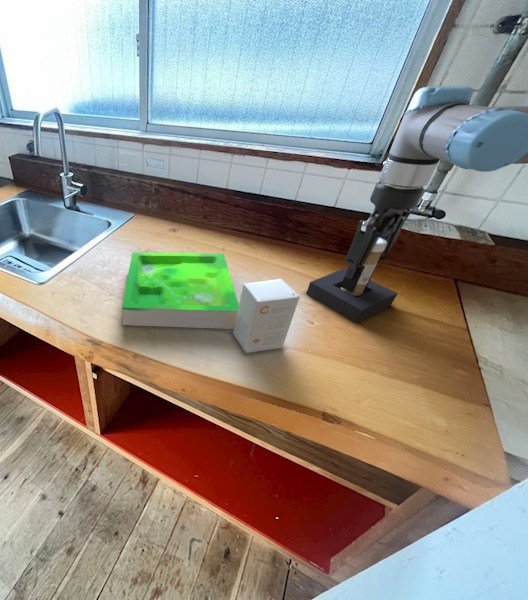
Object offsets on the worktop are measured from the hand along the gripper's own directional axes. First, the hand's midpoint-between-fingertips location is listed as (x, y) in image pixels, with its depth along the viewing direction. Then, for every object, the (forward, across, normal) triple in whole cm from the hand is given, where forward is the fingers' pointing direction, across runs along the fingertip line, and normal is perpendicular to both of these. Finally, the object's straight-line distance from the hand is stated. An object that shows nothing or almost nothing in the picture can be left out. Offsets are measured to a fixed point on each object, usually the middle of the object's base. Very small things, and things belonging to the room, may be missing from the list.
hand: (353, 285), depth 75 cm
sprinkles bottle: (+2, 0, 0) cm, 2 cm away
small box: (+4, +29, 0) cm, 29 cm away
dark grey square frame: (+4, 0, 0) cm, 4 cm away
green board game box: (+4, +34, -22) cm, 41 cm away
